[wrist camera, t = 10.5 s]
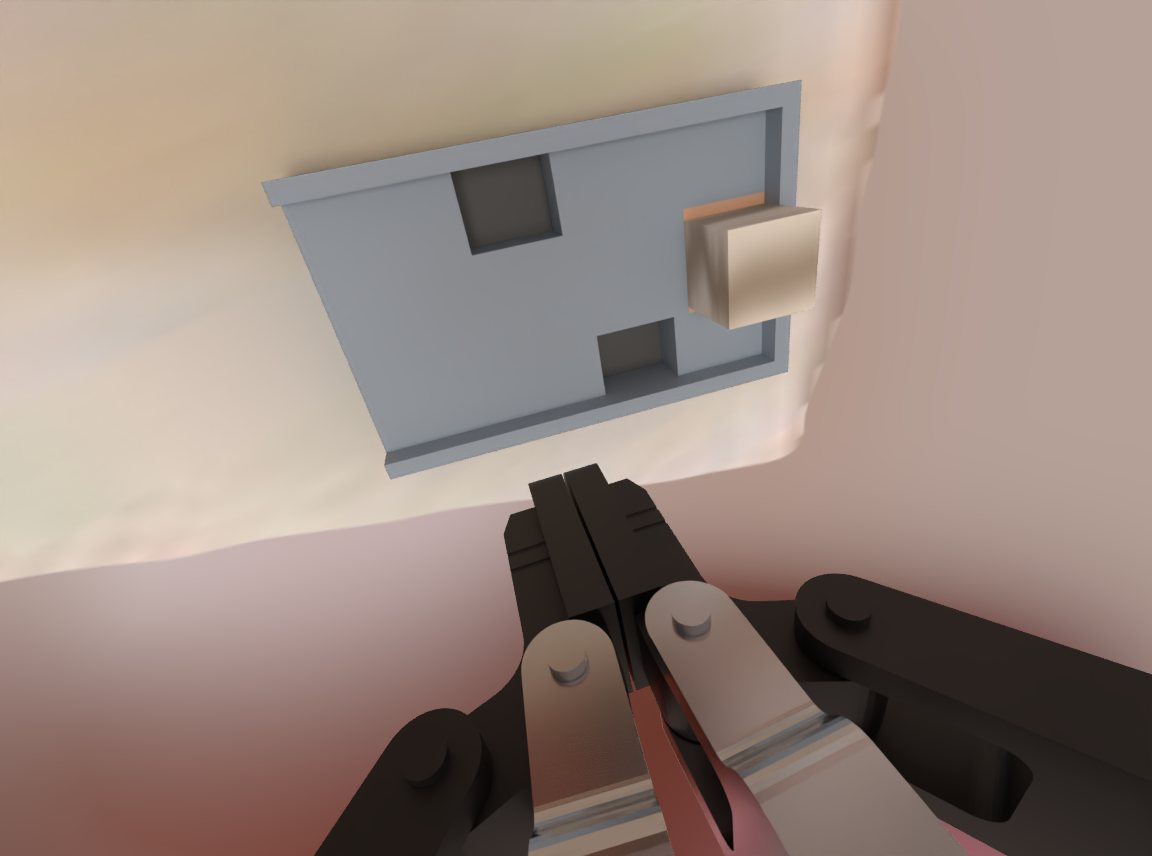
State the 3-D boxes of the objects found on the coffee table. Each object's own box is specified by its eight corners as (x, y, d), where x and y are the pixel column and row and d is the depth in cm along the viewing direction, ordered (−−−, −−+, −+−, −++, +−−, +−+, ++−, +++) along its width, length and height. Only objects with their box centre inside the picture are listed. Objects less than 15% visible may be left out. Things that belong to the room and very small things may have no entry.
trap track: (288, 180, 25) (261, 182, 22) (752, 91, 29) (801, 79, 25) (396, 443, 33) (390, 479, 29) (751, 350, 37) (787, 371, 33)
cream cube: (683, 220, 28) (727, 230, 24) (764, 203, 29) (821, 209, 24) (688, 307, 31) (729, 330, 26) (762, 289, 31) (814, 308, 27)
